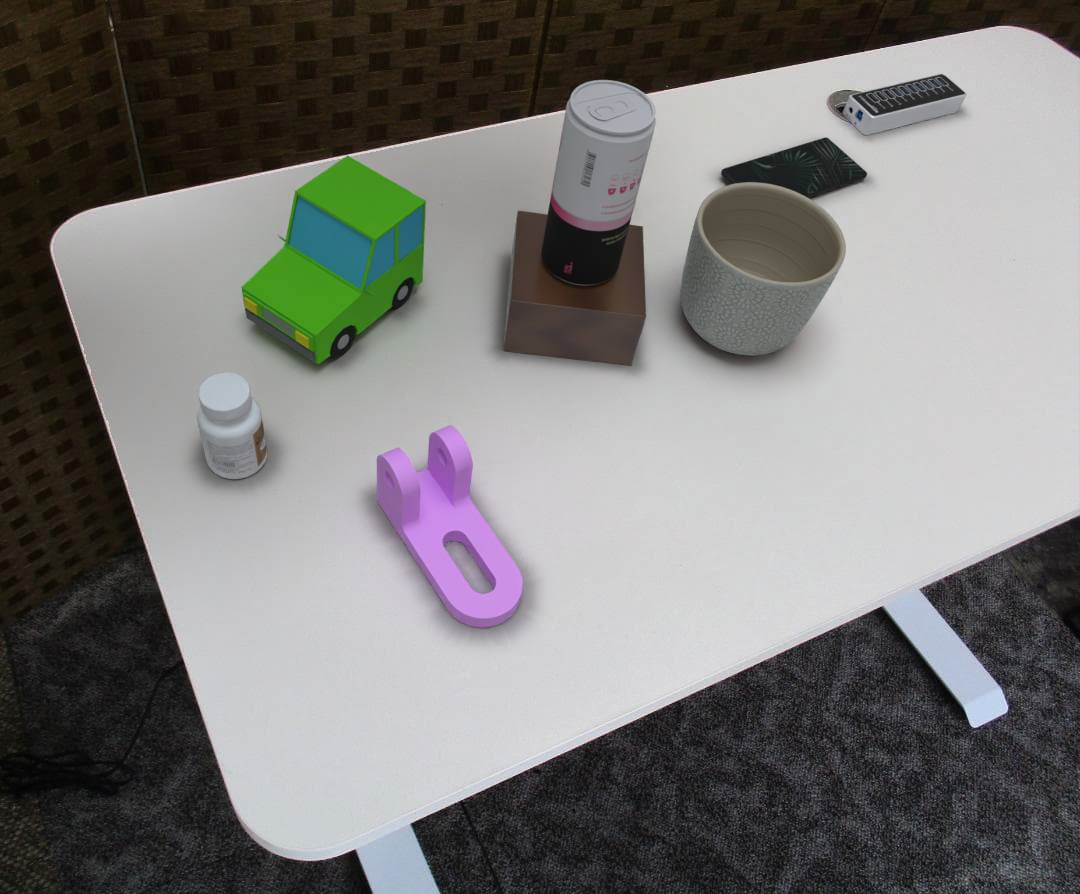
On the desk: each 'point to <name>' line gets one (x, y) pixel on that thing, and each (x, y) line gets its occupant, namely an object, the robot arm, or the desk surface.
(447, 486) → the bracket
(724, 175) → the smartphone
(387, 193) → the toy car
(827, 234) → the planter
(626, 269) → the riser
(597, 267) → the beverage can
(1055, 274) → the desk surface
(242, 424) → the pill bottle
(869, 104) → the multiport hub
